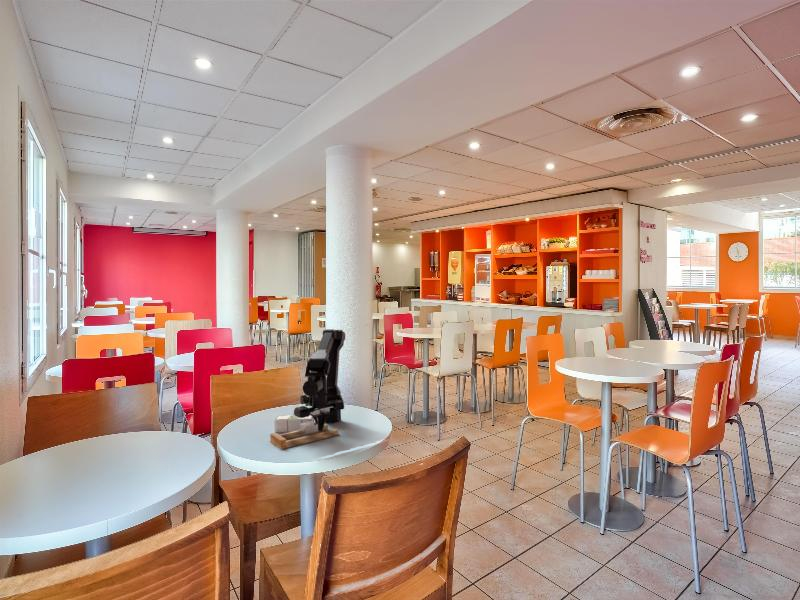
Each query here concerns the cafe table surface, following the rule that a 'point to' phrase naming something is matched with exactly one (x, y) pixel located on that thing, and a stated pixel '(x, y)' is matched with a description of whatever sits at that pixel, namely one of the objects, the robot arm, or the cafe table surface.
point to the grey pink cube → (308, 428)
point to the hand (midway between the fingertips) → (320, 430)
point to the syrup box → (290, 423)
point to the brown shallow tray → (284, 443)
